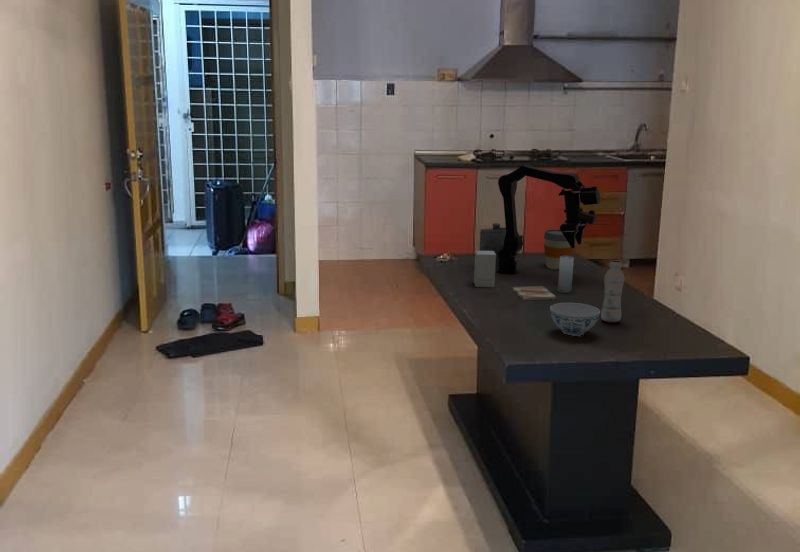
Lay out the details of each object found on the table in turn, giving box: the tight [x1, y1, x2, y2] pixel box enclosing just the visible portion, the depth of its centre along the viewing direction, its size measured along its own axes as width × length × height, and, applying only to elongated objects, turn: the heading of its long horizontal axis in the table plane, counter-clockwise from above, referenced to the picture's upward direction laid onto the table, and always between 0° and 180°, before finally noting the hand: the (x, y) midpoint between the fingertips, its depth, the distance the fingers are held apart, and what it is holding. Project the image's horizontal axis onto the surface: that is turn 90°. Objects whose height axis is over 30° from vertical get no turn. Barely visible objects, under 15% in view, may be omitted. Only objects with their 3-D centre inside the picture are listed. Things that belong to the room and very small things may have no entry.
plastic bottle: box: [600, 259, 626, 323], centre depth 252 cm, size 6×7×20 cm
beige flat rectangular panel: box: [511, 285, 557, 301], centre depth 286 cm, size 15×12×1 cm
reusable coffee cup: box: [543, 228, 574, 270], centre depth 327 cm, size 13×13×15 cm
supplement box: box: [473, 250, 496, 288], centre depth 297 cm, size 7×7×13 cm
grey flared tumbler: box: [557, 256, 575, 294], centre depth 289 cm, size 5×5×13 cm
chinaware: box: [549, 302, 601, 337], centre depth 241 cm, size 15×15×8 cm
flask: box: [478, 222, 506, 267], centre depth 327 cm, size 4×14×18 cm, turn 106°
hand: (576, 246), depth 303 cm, fingers open, 9 cm apart
